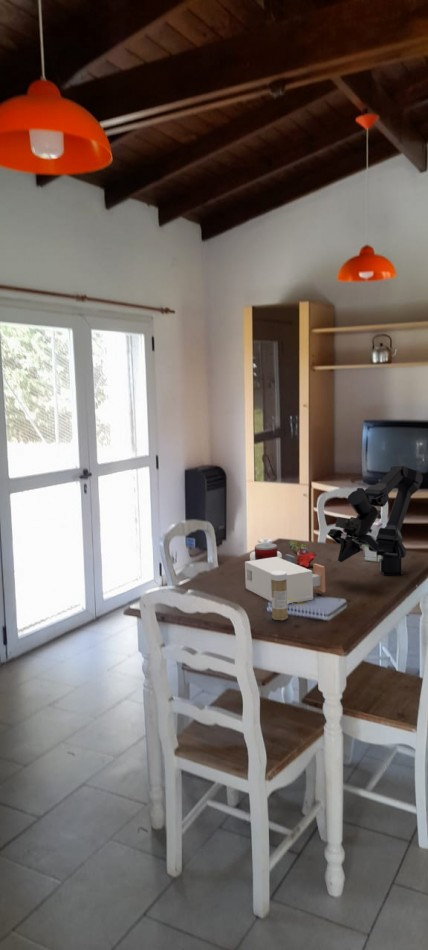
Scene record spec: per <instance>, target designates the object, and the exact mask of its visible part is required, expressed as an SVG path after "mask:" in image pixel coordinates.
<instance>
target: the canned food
mask: <svg viewBox="0 0 428 950" xmlns="http://www.w3.org/2000/svg"><path fill="white" fill-rule="evenodd" d="M254 551H255V560H259V559H265V558H272V557H277V551H278V546H277V544H276V543H273V542H272V543H262V544H261V543H258V544H255V545H254Z"/></svg>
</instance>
